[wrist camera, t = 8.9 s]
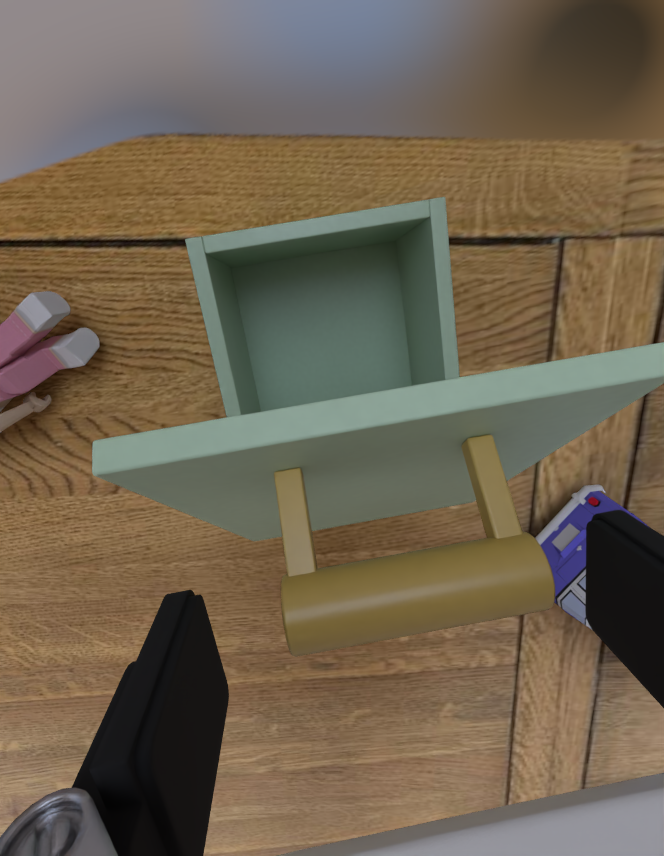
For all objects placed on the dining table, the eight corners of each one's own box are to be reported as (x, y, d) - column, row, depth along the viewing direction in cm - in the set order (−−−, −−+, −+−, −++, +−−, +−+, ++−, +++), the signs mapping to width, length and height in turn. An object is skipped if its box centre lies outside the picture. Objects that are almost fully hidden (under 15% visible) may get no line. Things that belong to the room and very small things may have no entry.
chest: (218, 258, 29) (184, 238, 21) (403, 227, 30) (445, 196, 21) (265, 474, 34) (253, 530, 25) (426, 445, 34) (469, 492, 25)
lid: (90, 439, 9) (87, 716, 8) (667, 340, 10) (787, 585, 8) (251, 527, 25) (262, 624, 23) (470, 488, 25) (496, 581, 23)
